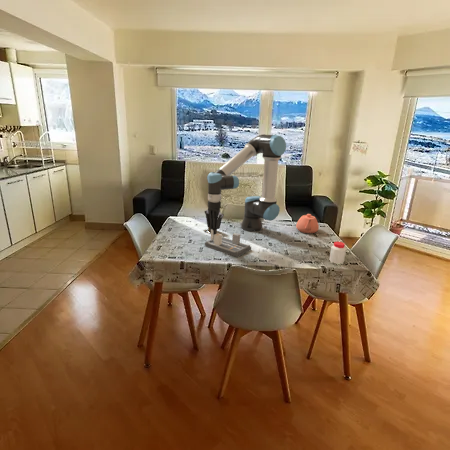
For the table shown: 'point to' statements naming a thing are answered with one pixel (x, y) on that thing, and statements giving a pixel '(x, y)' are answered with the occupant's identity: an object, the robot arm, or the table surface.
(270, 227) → the table surface
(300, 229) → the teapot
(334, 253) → the pill bottle
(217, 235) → the block
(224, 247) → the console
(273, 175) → the robot arm
